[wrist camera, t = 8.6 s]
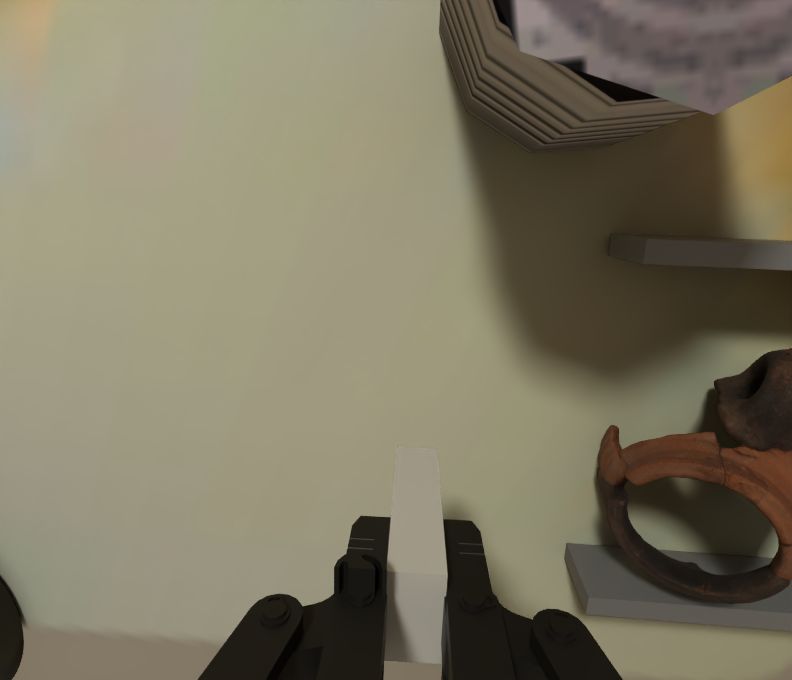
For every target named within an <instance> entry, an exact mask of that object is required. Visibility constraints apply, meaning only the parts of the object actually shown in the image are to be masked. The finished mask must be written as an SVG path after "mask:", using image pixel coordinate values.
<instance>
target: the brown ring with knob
mask: <svg viewBox="0 0 792 680" xmlns="http://www.w3.org/2000/svg"><path fill="white" fill-rule="evenodd" d="M714 387H715V389H716V390H717V391H718V393H719V402H720V403H719V404H718V408H717V413H718V417H719V419H720V420H721V422H722V425H723V427H724V429H725V430H726V432H727V433H728V434H729V435H730V436H731V437H732V438H733V439H734V440H735V441H737V442H739V443H741V444H742V446H740V447H735V448H722V447H721V446H720V445H719V442H718V440H717V436H716V434H715V433H714V432H702V433H688V434H676V435H668V436H664V437H661V438H656V439H652V440H645V441H641V442H638V443H635V444H632V445H630V446H628V447H626V448H624V449H622V448H621V446H620V444H619V428H618V427H617V426H614V425H611V426H610V427H609V428H608V429H607V431H606V433H605V435H604V437H603V439H602V441H601V448H600V451H599V455H598V457H599V466H600V467H599V468H598V469H597V477H598V481H599V485H600V489H601V492H602V496H603V499H604V501H605V504H606V509H607V518H608V521H609V525H610V528H611V531H612V534H613V536H614V538H615V539H616V542H617V543H618V544H619V546H620V547H621V548H622V549H623V550H624V552H625V553H626V554H627V555H629V556H630V557H631V558H632V560H633V562H635V563H636V564H637V565H638V566H639V567H640V568H641V570H643V571H644V572H646V573H648V574H650V575H651V576H652V577H653V578H655V579H656V580H658V581H659V582H660V583H663V584H664V585H666V586H668V587H670V588H672V589H674V590H676V591H679V592H680V593H683V594H686V595H690V596H692V597H695V598H698V599H706V600H708V601H714V602H721V603H729V604H735V603H752V602H756V601H760V600H763V599H767V598H769V597H772V596H774V595H776V594H778V593H780V592H781V591H783V590H784V589H785V588H787V587H788V586H789V585H790V580H792V348H790V349H788V350H787V349H785V350H777V351H771V352H768V353H766V354H764V355H763V356H761V357H760V358H759V359H758V360H756V361H755V362H754V363H753V364H752V365H751V366H750V367H749V368H747V369H746V370H745V371H744V372H742V373H741V374H739V375H735V376H731V377H725V378H722V379H717V380H715V381H714ZM668 477H680V478H692V479H698V480H702V481H707V482H712V483H716V484H720V485H724V486H726V487H727V488H729V489H731V490H732V491H735V492H736V493H738V494H740V495H741V496H743V497H744V498H746V499H747V500H748V501H750V502H751V503H753V504H754V505H755V506H756V507H757V508H758V509H759V510H760V511H761V512H762V513H763V514H764V515H765V516H766V517H767V518H768V519H769V521H770V522H771V524H772V525H773V526H774V528H775V530H776V533H777V536H778V542H779V547H778V552H777V553H776V555H775V557H774V558H773V559H772V561H771V563H770V564H768V565H766V566H763V567H761V568H758V569H756V570H753V571H749V572H745V573H740V574H734V575H715V574H712V573H709V572H706V571H704V570H702V569H701V568H700V567H699V566H698V565H697V563H693V562H682V561H679V560H676V559H674V558H671V557H669V556H667V555H665V554H664V553H662V552H661V551H659V550H657V549H656V548H654V547H653V546H652V545H650V544H648V543H647V542H646V541H644V540H643V539H642V537H641V536H640V535H639V534H638V533H637V532H636V531H635V529H634V528H633V526H632V524H631V523H630V520H629V517H628V512H627V502H628V497H627V493H626V491H625V489H624V485H625V484H626V482H627V481H628V480H629V481H630V482H631V483H633V484H634V485H635V486H642V485H644V484H647V483H649V482H652V481H655V480H659V479H663V478H668Z"/></svg>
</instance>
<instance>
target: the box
mask: <svg viewBox="0 0 792 680" xmlns="http://www.w3.org/2000/svg"><path fill="white" fill-rule="evenodd" d="M608 256H612V257H616V258H620V259H624V260H628V261H632V262H636V263H640V264H648V265H673V266H697V267H722V268H746V269H771V270H792V241H781V240H754V239H727V238H701V237H674V236H647V235H620V234H611V238H610V245H609V252H608ZM659 551H661V552H662V553H664V554H665V555H667V556H669V557H671V558H674V559H676V560H679V561H682V562H693V563H697V565H698V566H699V567H700V568H701V569H702V570H704V571H706V572H709V573H712V574H715V575H734V574H740V573H745V572H749V571H753V570H756V569H758V568H761V567H763V566H766V565H768V564H770V563H771V561H772V559H773V558H761V557H748V556H734V555H720V554H707V553H693V552H679V551H666V550H659ZM564 559H565V561H566V564H567V566H568V569H569V572H570V574H571V577H572V579H573V582H574V585H575V587H576V590H577V592H578V595H579V598H580V600H581V603H582V605H583V608H584V611H585V613H586V614H587V615H599V616H611V617H624V618H636V619H648V620H661V621H673V622H685V623H697V624H710V625H722V626H734V627H747V628H759V629H771V630H784V631H792V580H790V585H789V586H788V587H787V588H785V589H784V590H783V591H781V592H780V593H778V594H776V595H774V596H772V597H769V598H767V599H763V600H760V601H756V602H752V603H735V604H729V603H721V602H714V601H708V600H706V599H698V598H695V597H692V596H690V595H686V594H683V593H680V592H679V591H676V590H674V589H672V588H670V587H668V586H666V585H664V584H663V583H660V582H659V581H658V580H656V579H655V578H653V577H652V576H651V575H650V574H648V573H646V572H644V571H643V570H641V568H640V567H639V566H638V565H637V564H636V563H635V562H633V560H632V558H631V557H630V556H629V555H627V554H626V553H625V552H624V550H623V549H622V548H621V547H611V546H597V545H584V544H570V543H567V544H566V551H565V558H564Z"/></svg>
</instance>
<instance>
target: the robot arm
mask: <svg viewBox="0 0 792 680" xmlns="http://www.w3.org/2000/svg"><path fill="white" fill-rule="evenodd" d="M482 544H483V543H482V538H481V533H480V531H479V529H478V528H477V527H476V526H475V524H474V523H473V522H472V521H465V520H447V519H443V514H442V502H441V490H440V478H439V466H438V455H437V449H429V448H409V447H397V452H396V464H395V475H394V487H393V499H392V511H391V518H390V517H372V516H360V517H359V518H358V520H357V521H356V522H355V523H354V524H353V525H352V529H351V534H350V539H349V544H348V549H347V554H346V555H344V556H343V557H341V558H340V559H339V560H338V561H337V563H336V565H335V567H334V594H333V595H332V596H331V597H329V598H328V599H326V600H324V601H322V602H319V603H316V604H312V605H307V606H302V605H301V603H300V602H299V601H298V600H297V599H296V598H294V597H292V596H290V595H286V594H275V595H270V596H267V597H265V598H263V599H261V600H259V601H257V602H256V603H255V604H254V605H253V606H252V607H251V608H250V610H249V611H248V612H247V614H246V615H245V616H244V618H243V619H242V620H241V622H240V623H239V625H238V626H237V627H236V629H235V630H234V631H233V633H232V634H231V635H230V637H229V638H228V639H227V641H226V642H225V643H224V645H223V646H222V647H221V649H220V650H219V652H218V653H217V654H216V656H215V657H214V658H213V660H212V661H211V662H210V664H209V665H208V666H207V668H206V669H205V671H204V672H203V673H202V675H201V676H200V677H199V679H198V680H383V675H384V661H399V662H415V663H430V664H441V660H442V679H441V680H623V679H622V678H621V677H620V675H619V674H618V672H617V671H616V669H615V668H614V666H613V665H612V664H611V662H610V661H609V659H608V658H607V656H606V655H605V653H604V652H603V651H602V649H601V648H600V646H599V645H598V643H597V642H596V641H595V639H594V638H593V636H592V635H591V633H590V632H589V630H588V629H587V628H586V626H585V625H584V624H583V623H582V622H581V621H580V620H579V619H578V618H576V617H575V616H573V615H571V614H570V613H568V612H565V611H561V610H558V609H546V610H543V611H540V612H538V613H537V614H536V615H535V616H534V617H533V620H532V619H529V618H526V617H523V616H520V615H517V614H515V613H512V612H510V611H509V610H507V609H506V608H504V607H503V606H502V605H501V604H500V603H499V601H498V599H497V597H496V596H495V595H494V594H493V592H492V589H491V584H490V579H489V574H488V568H487V563H486V558H485V555H484V548H483V545H482ZM23 646H24V640H23V629H22V624H21V620H20V617H19V614H18V611H17V609H16V606H15V604H14V602H13V600H12V598H11V596H10V594H9V593H8V591H7V589H6V588H5V586H4V585H3V583H2V582H1V581H0V680H12V678H13V677H14V675H15V674H16V672H17V670H18V668H19V665H20V662H21V659H22V654H23Z"/></svg>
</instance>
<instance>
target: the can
mask: <svg viewBox="0 0 792 680" xmlns="http://www.w3.org/2000/svg"><path fill="white" fill-rule="evenodd" d="M439 33H440V36H441V39H442V42H443V45H444V48H445V50H446V53H447V56H448V59H449V62H450V65H451V67H452V70H453V73H454V76H455V79H456V82H457V85H458V87H459V90H460V93H461V96H462V99H463V102H464V105H465V107H466V110H467V112H469V113H470V114H472V115H473V116H475V117H477V118H478V119H480V120H481V121H483V122H484V123H486V124H487V125H489V126H490V127H492V128H493V129H495V130H496V131H498V132H499V133H501V134H502V135H504V136H505V137H507V138H508V139H510V140H511V141H513V142H514V143H516V144H517V145H519V146H520V147H522V148H523V149H525V150H526V151H528V152H529V153H536V152H548V151H559V150H570V149H582V148H593V147H604V146H610V145H613V144H615V143H618V142H621V141H623V140H626V139H629V138H632V137H634V136H637V135H640V134H643V133H645V132H648V131H651V130H654V129H656V128H659V127H662V126H664V125H667V124H670V123H673V122H675V121H678V120H681V119H684V118H686V117H689V116H692V115H695V114H697V113H700V112H705V113H708V114H711V115H715V114H717V113H719V112H721V111H723V110H725V109H727V108H729V107H731V106H733V105H735V104H737V103H739V102H741V101H743V100H745V99H747V98H749V97H751V96H753V95H755V94H757V93H759V92H761V91H763V90H765V89H767V88H769V87H771V86H773V85H775V84H777V83H779V82H781V81H783V80H785V79H787V78H789V77H790V76H792V0H441V3H440V24H439Z"/></svg>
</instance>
